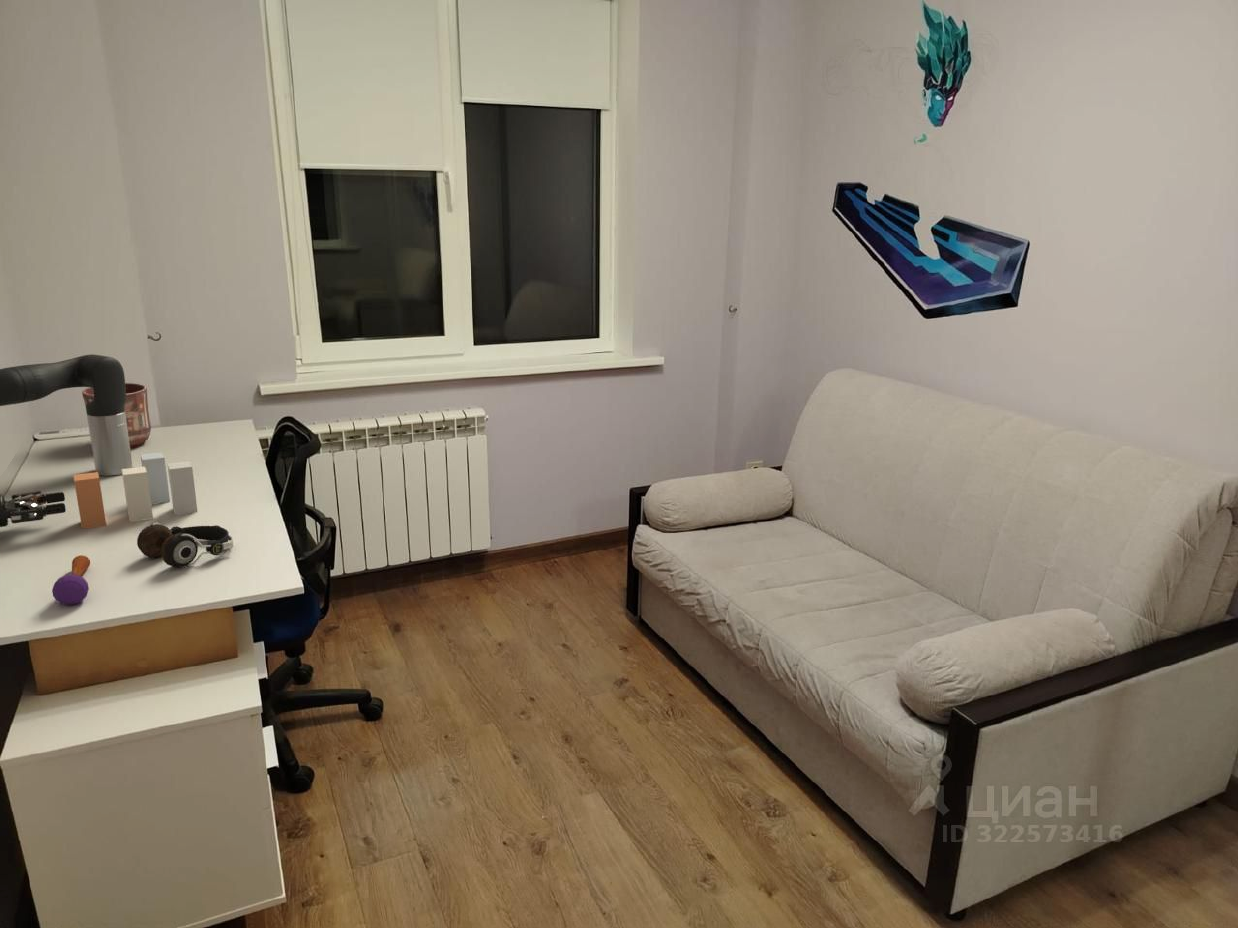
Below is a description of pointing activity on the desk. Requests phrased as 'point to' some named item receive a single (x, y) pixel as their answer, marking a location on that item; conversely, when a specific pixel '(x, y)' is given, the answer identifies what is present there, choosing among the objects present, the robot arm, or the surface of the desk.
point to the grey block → (182, 487)
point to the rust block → (89, 500)
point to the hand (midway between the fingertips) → (64, 501)
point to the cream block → (137, 493)
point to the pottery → (132, 412)
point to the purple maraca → (72, 583)
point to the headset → (182, 542)
